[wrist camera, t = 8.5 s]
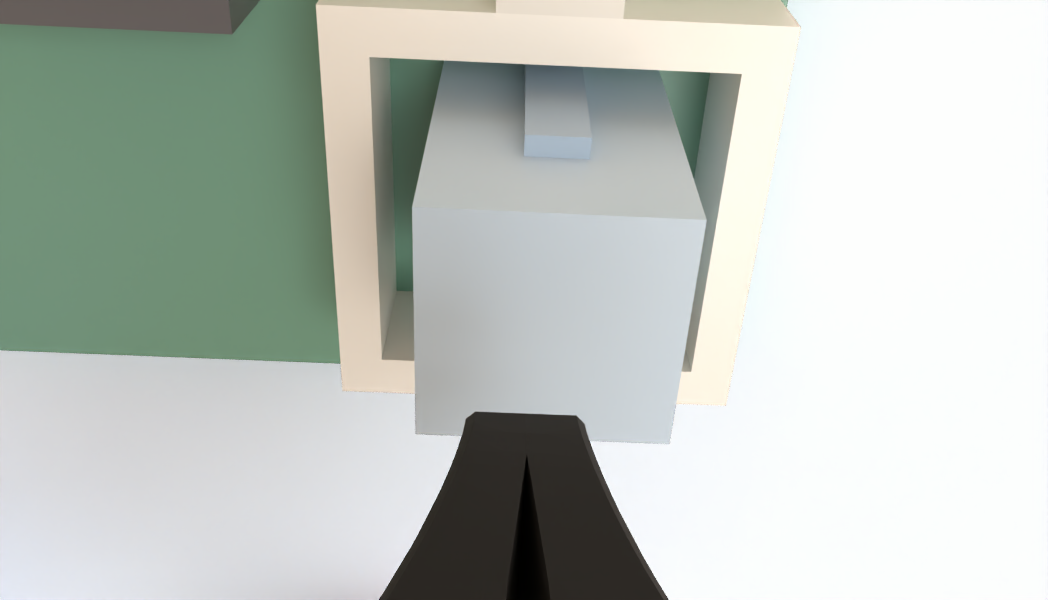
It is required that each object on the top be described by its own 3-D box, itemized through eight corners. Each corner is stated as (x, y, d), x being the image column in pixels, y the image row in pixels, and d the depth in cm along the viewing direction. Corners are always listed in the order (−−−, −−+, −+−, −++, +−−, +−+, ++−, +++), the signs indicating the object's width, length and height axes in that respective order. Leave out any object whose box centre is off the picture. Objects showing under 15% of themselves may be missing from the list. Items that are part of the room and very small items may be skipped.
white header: (706, 334, 22) (725, 405, 20) (360, 320, 22) (342, 390, 19) (774, -51, 17) (808, -12, 15) (339, -72, 17) (313, -35, 15)
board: (710, 352, 23) (716, 378, 22) (-29, 322, 23) (-50, 348, 22) (813, -223, 17) (829, -217, 16) (-215, -275, 16) (-255, -272, 16)
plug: (635, 254, 21) (669, 444, 16) (443, 245, 21) (415, 434, 15) (660, 50, 18) (710, 197, 13) (444, 40, 18) (411, 183, 13)
